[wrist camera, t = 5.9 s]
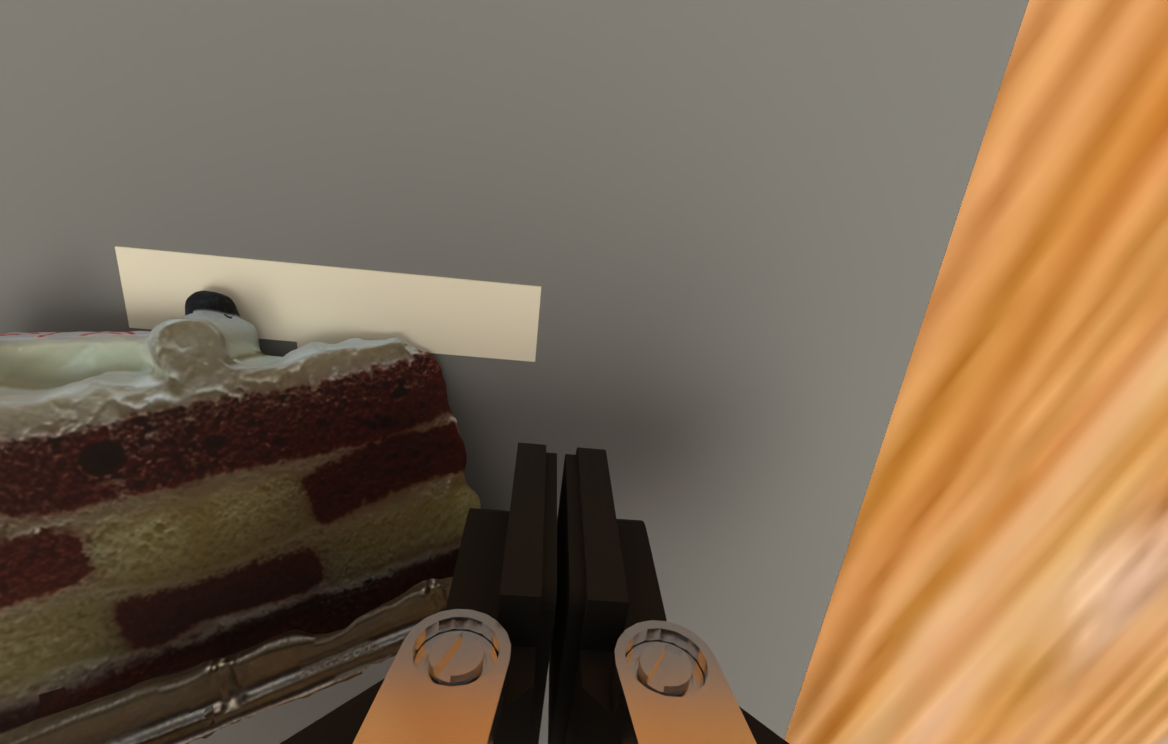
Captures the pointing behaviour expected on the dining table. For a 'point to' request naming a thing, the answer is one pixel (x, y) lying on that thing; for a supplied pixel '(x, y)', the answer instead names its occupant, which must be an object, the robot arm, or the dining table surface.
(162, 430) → the chocolate cake
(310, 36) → the letter mat
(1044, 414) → the dining table surface
